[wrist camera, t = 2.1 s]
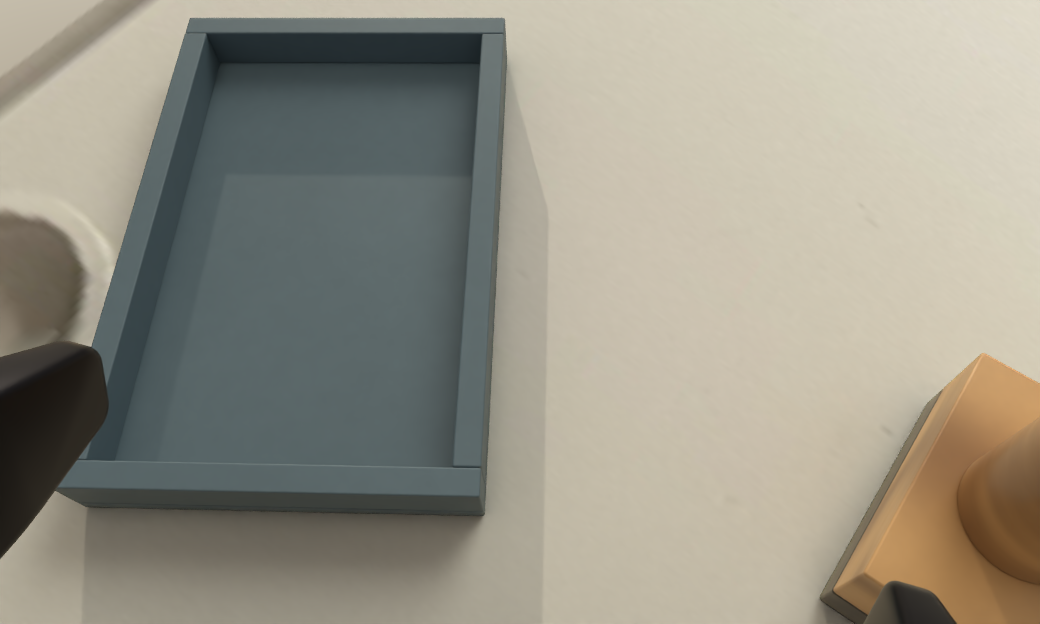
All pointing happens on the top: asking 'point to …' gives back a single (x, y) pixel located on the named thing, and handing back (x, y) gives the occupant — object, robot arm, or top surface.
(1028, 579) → the wooden rubber stamp
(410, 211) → the tray
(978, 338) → the top surface
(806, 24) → the top surface
